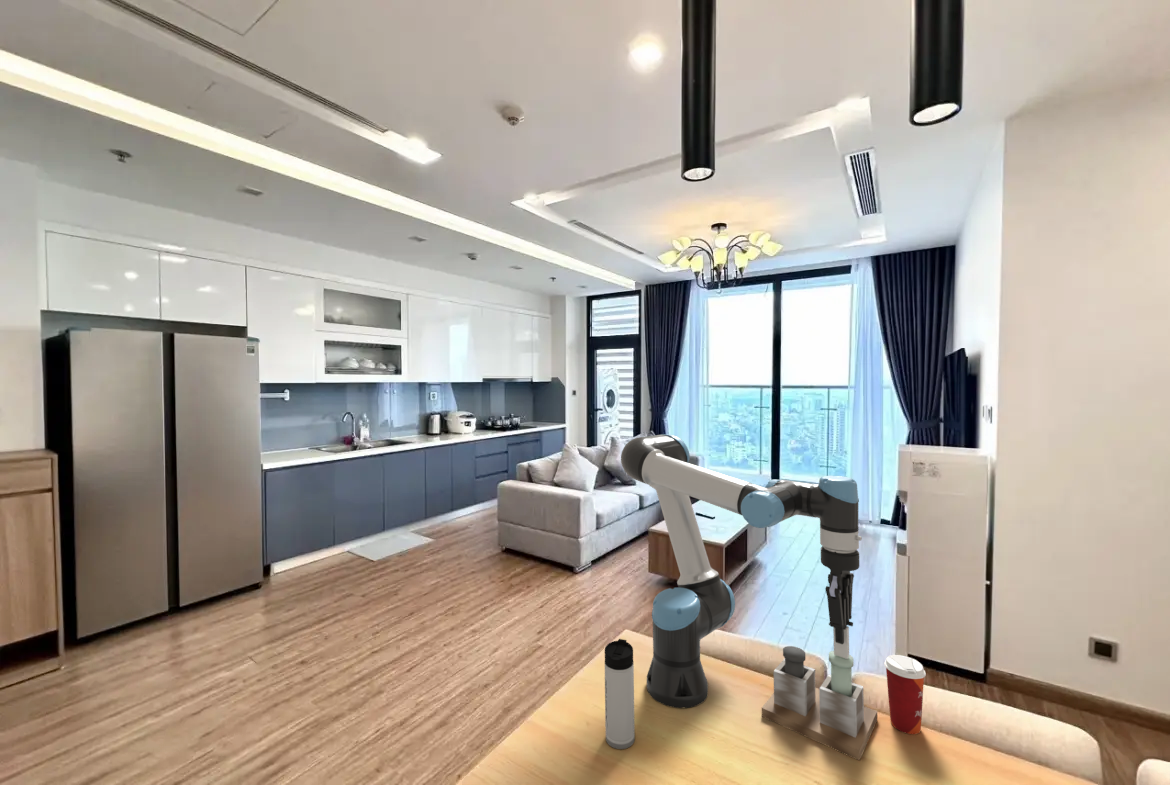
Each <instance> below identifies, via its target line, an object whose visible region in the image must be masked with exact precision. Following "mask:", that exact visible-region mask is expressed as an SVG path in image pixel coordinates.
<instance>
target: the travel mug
mask: <svg viewBox="0 0 1170 785" xmlns="http://www.w3.org/2000/svg"><path fill="white" fill-rule="evenodd" d="M634 667H635V666H634V647H633V646H632V644H630V643H629V642H627V639H621V638H619V639H618V640H614V641H611V642H609V643H608V644H606V645H605V647H604V708H605V709H604V710H605V711H604V714H605V716H604V718H605V719H604V720H605V722H604V723H605V741H606V743H607V745H609V746H610V747H611V748H612V749H618V750H626V749H627V748H630V747H632V745H633V744H634V743H635V739H636V738H635V733H636V732H635V682H634V681H635V680H634V679H635V677H634V676H635V673H634V672H635V669H634Z"/></svg>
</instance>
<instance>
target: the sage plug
mask: <svg viewBox="0 0 1170 785" xmlns="http://www.w3.org/2000/svg"><path fill="white" fill-rule="evenodd" d="M828 662H830V675H831V690H832V691H835V692H838V693H840V694H843V695H846V696H848V697H852V683H853V682H852V681H853V677H852V675H853V672H852V668H854V666H855V665H854V664H855V663H854V657H853V656H852V655H851V654H849V658H848V659H845V658H842V657H839V656H836V655H834V650H831V651H829V652H828Z"/></svg>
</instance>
